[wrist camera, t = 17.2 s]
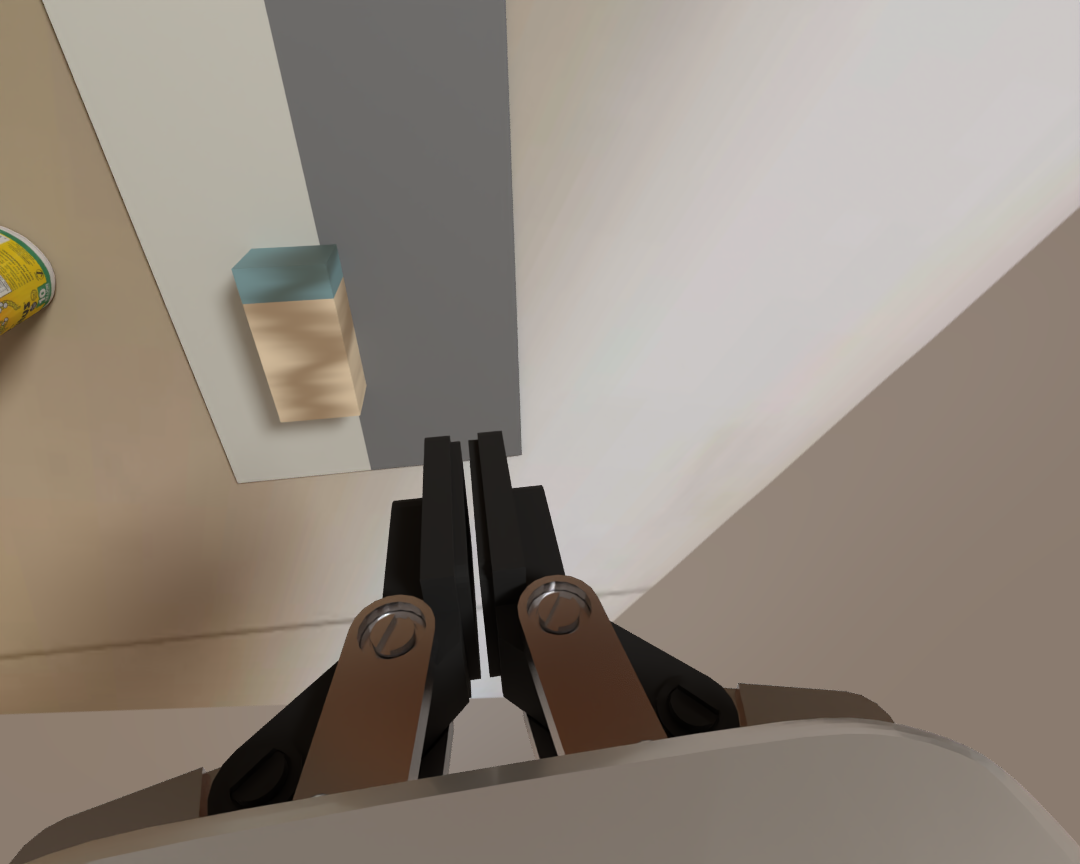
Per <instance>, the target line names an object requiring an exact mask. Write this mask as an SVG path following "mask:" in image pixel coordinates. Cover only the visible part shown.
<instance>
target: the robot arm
mask: <svg viewBox="0 0 1080 864" xmlns="http://www.w3.org/2000/svg"><path fill="white" fill-rule="evenodd" d="M477 436H478V439H476V440H468V445H469V457H470V469H471V481H472V494H473V506H474V518H475V530H476V542H477V555H478V566H479V577H480V587H481V597H482V606H483V616H484V625H485V635H486V645H487V654H488V664H489V673H490V677H495V676H501V682H502V692H503V696H504V697H505V698H506V699H508V700H509V701H510V702H512V703H513V704H515V705H516V706H518V707H519V708H520V709H521V710H523V716H524V721H525V725H526V728H527V732H528V735H529V739H530V742H531V746H532V749H533V752H534V756H535V759H536V760H532V761H526V762H520V763H514V764H508V765H502V766H496V767H490V768H484V769H478V770H472V771H466V772H460V773H454V774H448V773H449V766H450V758H451V750H452V741H453V733H454V723H453V720H454V719H455V718H456V716H457V715H458V714H459V713H460V712H461V711H462V710H463V708H464V707H465V706H466V705H467V704H468V703H469V698H471V681H470V680H475V679H481V670H480V656H479V642H478V628H477V614H476V600H475V586H474V572H473V558H472V545H471V534H470V524H469V515H468V506H467V497H466V488H465V479H464V470H463V461H462V452H461V443H460V441H455V442H451V439H450V435H449V436H438V437H427V438H425V439H424V466H423V496H422V498H417V499H407V500H398V501H393V503H392V509H391V519H390V529H389V539H388V549H387V559H386V569H385V579H384V589H383V598H382V599H379V600H377V601H374V602H373V603H371V604H370V605H368V606H367V607H365V608H364V609H363V610H362V611H361V612H360V613H359V614H358V615H357V616H356V617H355V619H354V621H353V622H352V624H351V626H350V628H349V631H348V634H347V637H346V640H345V643H344V646H343V649H342V652H341V655H340V658H339V661H337V662H336V663H335V664H334V665H333V666H332V667H331V668H330V669H328V670H327V671H326V672H325V673H324V674H323V675H322V676H320V677H319V678H318V679H317V680H316V681H315V682H314V683H312V684H311V685H310V686H309V687H308V688H307V689H306V690H304V691H303V692H302V693H301V694H300V695H299V696H298V697H296V698H295V699H294V700H293V701H292V702H291V703H290V704H288V705H287V706H286V707H285V708H284V709H283V710H282V711H280V712H279V713H278V714H277V715H276V716H275V717H274V718H273V719H271V720H270V721H269V722H268V723H267V724H266V725H265V726H263V727H262V728H261V729H260V730H259V731H258V732H257V733H255V734H254V735H253V736H252V737H251V738H250V739H249V740H248V741H246V742H245V743H244V744H243V745H242V746H241V747H240V748H238V749H237V750H236V751H235V752H234V753H233V754H232V755H231V756H230V758H229V759H228V760H227V761H226V762H225V763H224V764H223V765H222V767H220V768H217V769H214V770H212V771H209V772H206V771H205V769H204V768H203V767H201V768H199V769H196V770H193V771H191V772H188V773H185V774H183V775H180V776H177V777H175V778H172V779H169V780H166V781H164V782H161V783H158V784H156V785H153V786H150V787H148V788H145V789H142V790H139V791H137V792H134V793H132V794H129V795H126V796H123V797H121V798H118V799H115V800H113V801H110V802H107V803H105V804H102V805H99V806H96V807H94V808H91V809H88V810H86V811H83V812H80V813H78V814H75V815H73V816H69V817H67V818H64V819H62V820H61V821H59V822H57V823H55V824H53V825H51V826H49V827H47V828H45V829H44V830H42V831H41V832H40V833H39V834H38V835H36V836H35V837H34V838H33V839H31V840H30V841H29V842H28V843H27V844H25V845H24V846H23V847H22V849H21V850H20V851H19V852H18V854H17V855H16V856H15V857H14V859H13V860H12V861H11V862H10V863H9V864H1080V847H1079V845H1078V844H1077V843H1076V842H1075V841H1074V840H1073V839H1072V837H1071V836H1070V835H1069V834H1068V833H1067V832H1066V831H1065V830H1064V829H1063V827H1061V826H1060V824H1059V823H1058V822H1057V821H1056V820H1055V819H1054V818H1053V817H1052V816H1051V815H1050V814H1049V813H1048V811H1047V810H1045V808H1044V807H1043V806H1042V805H1041V804H1040V803H1039V802H1038V801H1037V800H1036V799H1035V798H1034V797H1033V796H1032V795H1031V794H1030V793H1029V792H1028V791H1027V790H1026V789H1025V788H1024V787H1023V786H1022V785H1021V784H1020V783H1019V782H1017V781H1016V780H1015V779H1014V778H1013V777H1012V776H1011V775H1009V774H1008V773H1007V772H1006V771H1005V770H1004V769H1003V768H1001V767H1000V766H999V765H997V764H996V763H994V762H993V761H992V760H990V759H989V758H987V757H986V756H985V755H983V754H981V753H979V752H977V751H976V750H974V749H972V748H970V747H968V746H966V745H964V744H962V743H959V742H956V741H954V740H952V739H949V738H947V737H943V736H941V735H938V734H935V733H932V732H928V731H925V730H921V729H917V728H913V727H910V726H906V725H902V724H896V723H894V721H893V720H892V718H891V717H890V715H889V714H888V713H886V712H885V711H884V710H883V709H882V708H881V707H880V706H879V705H878V704H877V703H875V702H873V701H871V700H869V699H868V698H866V697H864V696H862V695H859V694H855V693H851V692H847V691H836V690H823V689H811V688H798V687H784V686H772V685H758V684H745V683H738V685H737V688H736V689H735V688H723V687H722V686H721V685H719V684H718V683H717V682H715V681H714V680H712V679H711V678H710V677H708V676H706V675H704V674H703V673H701V672H699V671H697V670H695V669H694V668H692V667H690V666H688V665H687V664H685V663H683V662H682V661H680V660H678V659H676V658H674V657H672V656H671V655H669V654H667V653H666V652H664V651H662V650H660V649H659V648H657V647H655V646H653V645H651V644H650V643H648V642H646V641H644V640H643V639H641V638H639V637H637V636H636V635H634V634H632V633H630V632H629V631H627V630H625V629H623V628H621V627H620V626H618V625H616V624H614V623H613V622H611V621H610V620H609V618H608V616H607V614H606V612H605V610H604V608H603V606H602V604H601V602H600V600H599V598H598V596H597V595H596V594H595V592H594V591H593V589H592V588H591V587H590V586H588V585H587V584H586V583H584V582H583V581H582V580H579V579H576V578H574V577H571V576H565V572H564V568H563V564H562V560H561V556H560V552H559V548H558V544H557V540H556V536H555V532H554V528H553V524H552V520H551V516H550V512H549V508H548V504H547V500H546V496H545V492H544V489H543V486H542V485H539V486H529V487H520V488H512V486H511V480H510V475H509V469H508V463H507V457H506V452H505V446H504V440H503V434H502V431H491V432H481V433H477Z"/></svg>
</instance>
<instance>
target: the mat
mask: <svg viewBox="0 0 1080 864" xmlns="http://www.w3.org/2000/svg"><path fill="white" fill-rule="evenodd" d="M42 1H43V3H44V6H45V8H46V11H47V13H48V16H49V18H50V21H51V23H52V25H53V28H54V30H55V33H56V35H57V38H58V40H59V43H60V45H61V48H62V50H63V53H64V55H65V58H66V60H67V62H68V65H69V67H70V70H71V72H72V75H73V77H74V80H75V82H76V85H77V87H78V90H79V92H80V95H81V97H82V100H83V102H84V104H85V107H86V109H87V112H88V114H89V117H90V119H91V122H92V124H93V127H94V129H95V132H96V134H97V137H98V139H99V142H100V144H101V146H102V149H103V151H104V154H105V156H106V159H107V161H108V164H109V166H110V169H111V171H112V174H113V176H114V179H115V181H116V183H117V186H118V188H119V191H120V193H121V196H122V198H123V201H124V203H125V206H126V208H127V211H128V213H129V216H130V218H131V221H132V223H133V225H134V228H135V230H136V233H137V235H138V238H139V240H140V243H141V245H142V248H143V250H144V253H145V255H146V258H147V260H148V263H149V265H150V267H151V270H152V272H153V275H154V277H155V280H156V282H157V285H158V287H159V290H160V292H161V295H162V297H163V300H164V302H165V304H166V307H167V309H168V312H169V314H170V317H171V319H172V322H173V324H174V327H175V329H176V332H177V334H178V337H179V339H180V342H181V344H182V346H183V349H184V351H185V354H186V356H187V359H188V361H189V364H190V366H191V369H192V371H193V374H194V376H195V379H196V381H197V383H198V386H199V388H200V391H201V393H202V396H203V398H204V401H205V403H206V406H207V408H208V411H209V413H210V416H211V418H212V421H213V423H214V425H215V428H216V430H217V433H218V435H219V438H220V440H221V443H222V445H223V448H224V450H225V453H226V455H227V458H228V460H229V463H230V465H231V467H232V470H233V472H234V475H235V477H236V480H237V482H238V483H245V482H256V481H266V480H276V479H286V478H296V477H306V476H316V475H326V474H336V473H346V472H356V471H366V470H376V469H386V468H396V467H406V466H416V465H424V439H425V438H427V437H438V436H449V435H450V439H451V442H455V441H460V443H461V452H462V461H467V460H470V457H469V445H468V440H476V439H478V436H477V433H481V432H491V431H502V434H503V440H504V446H505V452H506V457H507V456H517V455H522V450H521V421H520V393H519V365H518V337H517V309H516V281H515V253H514V225H513V197H512V169H511V141H510V113H509V85H508V57H507V29H506V1H505V0H42ZM333 244H336V245H337V249H338V254H339V259H340V264H341V268H342V273H343V278H344V282H345V287H346V292H347V297H348V301H349V306H350V311H351V315H352V320H353V325H354V330H355V334H356V339H357V344H358V348H359V353H360V358H361V363H362V367H363V372H364V377H365V381H366V391H365V396H364V400H363V405H362V410H361V414H360V416H349V417H338V418H327V419H315V420H304V421H292V422H281V421H280V418H279V415H278V412H277V409H276V406H275V403H274V400H273V397H272V393H271V390H270V387H269V384H268V381H267V378H266V375H265V372H264V369H263V366H262V363H261V360H260V356H259V353H258V350H257V347H256V344H255V341H254V338H253V335H252V332H251V329H250V326H249V323H248V319H247V316H246V313H245V310H244V307H243V304H242V301H241V298H240V295H239V292H238V289H237V286H236V282H235V279H234V276H233V273H232V270H231V269H232V268H233V267H234V266H235V265H236V264H237V263H238V262H239V261H240V260H241V259H242V258H243V257H244V256H245V255H246V254H247V253H248V252H249V250H250V249H255V248H275V247H294V246H313V245H333Z"/></svg>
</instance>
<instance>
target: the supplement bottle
mask: <svg viewBox="0 0 1080 864" xmlns="http://www.w3.org/2000/svg"><path fill="white" fill-rule="evenodd" d="M54 291H55V274H54V271H53V269H52V266H51V264H50V262H49V261H48V259H47V258H46V257H45V255H44V254H43V253H42V252H41V251H40V250H39V249H38V248H37V247H36V246H35V245H34V244H33V243H32V242H30V241H29V240H28V239H27V238H25V237H24V236H22V235H20V234H19V233H17V232H15V231H12V230H10V229H8V228H6V227H3V226H0V335H2V334H3V333H5V332H7V331H8V330H10V329H11V328H13V327H15V326H16V325H18V324H19V323H21V322H22V321H24V320H26V319H27V318H29V317H30V316H32V315H33V314H35V313H37V312H38V311H40V310H41V309H42V308H44V307H45V306H46V305H48V304H49V303H50V301H51V300H52V298H53V296H54Z"/></svg>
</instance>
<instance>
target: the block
mask: <svg viewBox="0 0 1080 864" xmlns="http://www.w3.org/2000/svg"><path fill="white" fill-rule="evenodd" d="M231 270H232V273H233V276H234V279H235V282H236V286H237V289H238V292H239V295H240V298H241V301H242V304H243V307H244V310H245V313H246V316H247V319H248V323H249V326H250V329H251V332H252V335H253V338H254V341H255V344H256V347H257V350H258V353H259V356H260V360H261V363H262V366H263V369H264V372H265V375H266V378H267V381H268V384H269V387H270V390H271V393H272V397H273V400H274V403H275V406H276V409H277V412H278V415H279V418H280V421H281V422H292V421H304V420H315V419H327V418H338V417H349V416H360V414H361V410H362V405H363V400H364V396H365V391H366V381H365V377H364V372H363V367H362V363H361V358H360V353H359V348H358V344H357V339H356V334H355V330H354V325H353V320H352V315H351V311H350V306H349V301H348V297H347V292H346V287H345V282H344V278H343V273H342V268H341V264H340V259H339V254H338V249H337V245H336V244H333V245H313V246H294V247H275V248H255V249H250V250H249V252H248V253H247V254H246V255H245V256H244V257H243V258H242V259H241V260H240V261H239V262H238V263H237V264H236V265H235V266H234V267H233V268H232V269H231Z"/></svg>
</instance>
